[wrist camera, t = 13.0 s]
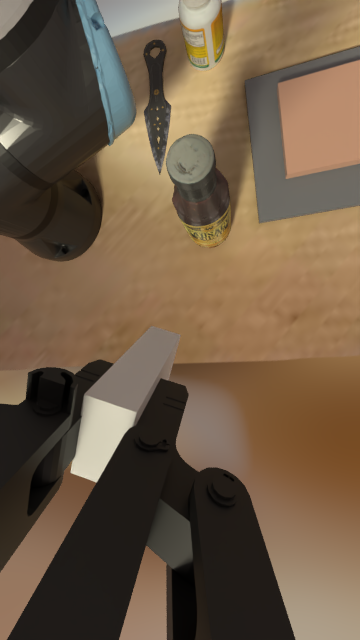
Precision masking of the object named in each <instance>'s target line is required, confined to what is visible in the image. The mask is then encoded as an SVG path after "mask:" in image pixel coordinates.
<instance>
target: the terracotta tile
mask: <svg viewBox="0 0 360 640" xmlns="http://www.w3.org/2000/svg"><path fill="white" fill-rule="evenodd" d="M277 98H278V108H279V118H280V128H281V138H282V148H283V158H284V168H285V178H286V179H289V178H293V177H298V176H303V175H308V174H313V173H317V172H322V171H327V170H332V169H337V168H341V167H346V166H351V165H356V164H360V60H357V61H354V62H350V63H347V64H343V65H340V66H336V67H333V68H329V69H326V70H322V71H319V72H315V73H312V74H308V75H305V76H301V77H298V78H294V79H291V80H287V81H284V82H280V83H278V87H277Z"/></svg>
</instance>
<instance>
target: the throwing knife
mask: <svg viewBox="0 0 360 640" xmlns="http://www.w3.org/2000/svg"><path fill="white" fill-rule="evenodd" d="M155 47H159V48H160V50H161V51H160V53H159V55H158V56H157V57H156V58H153V57H151V56H150V55H149V54H150V50H151V49H153V48H155ZM165 54H166V48H165V44H164V43H163V41H161V40H153V41H151V42H149V43H148V44H147V45H146V47H145V49H144V57H145V60H146V63H147V66H148V71H149V79H150V99H149V104H148V106H147V107H146V109H145V111H144V115H145V121H146V126H147V131H148V136H149V140H150V144H151V148H152V152H153V156H154V159H155V162H156V165H157V168H158V171H159V174H160V172H161V168H162V164H163V160H164V156H165V150H166V144H167V137H168V130H169V122H170V112H171V105H170V104H169V103H168V102H167V101H166V100H165V99H164V94H163V78H162V72H163V64H164V58H165ZM157 107H158V111H156V109H157ZM157 117H158V118H159V120H158V122H157V120H156V119H157ZM158 127H159V131H157V128H158ZM158 136H159V137H160V141H159V146H158V142H157V138H158Z"/></svg>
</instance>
